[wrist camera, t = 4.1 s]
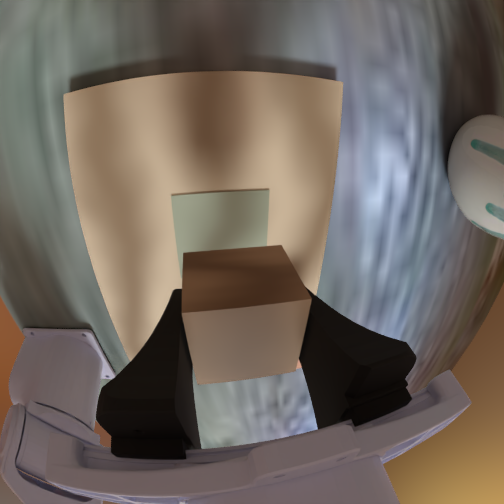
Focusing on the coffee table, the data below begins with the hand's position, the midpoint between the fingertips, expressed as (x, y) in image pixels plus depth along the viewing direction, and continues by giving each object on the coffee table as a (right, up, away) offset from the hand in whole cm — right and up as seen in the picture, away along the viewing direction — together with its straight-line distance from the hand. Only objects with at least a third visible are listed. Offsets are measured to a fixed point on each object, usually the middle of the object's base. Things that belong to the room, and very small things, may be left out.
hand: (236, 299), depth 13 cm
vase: (+23, +12, +8) cm, 27 cm away
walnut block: (0, 0, +1) cm, 1 cm away
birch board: (-2, +3, +7) cm, 8 cm away
